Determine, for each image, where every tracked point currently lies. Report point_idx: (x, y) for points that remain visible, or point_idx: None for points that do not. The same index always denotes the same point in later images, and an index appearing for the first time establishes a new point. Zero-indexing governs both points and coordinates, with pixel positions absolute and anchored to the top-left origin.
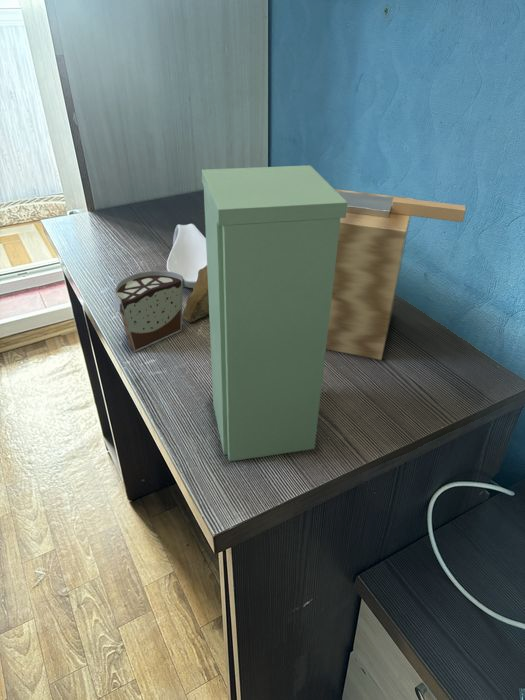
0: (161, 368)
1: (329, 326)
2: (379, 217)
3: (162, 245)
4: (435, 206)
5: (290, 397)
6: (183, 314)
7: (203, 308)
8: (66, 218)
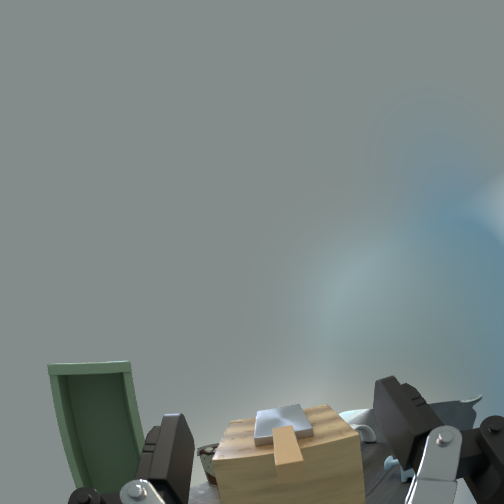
0: (194, 496)
1: None
2: (253, 443)
3: (360, 438)
4: (274, 447)
5: None
6: None
7: None
8: (353, 411)
